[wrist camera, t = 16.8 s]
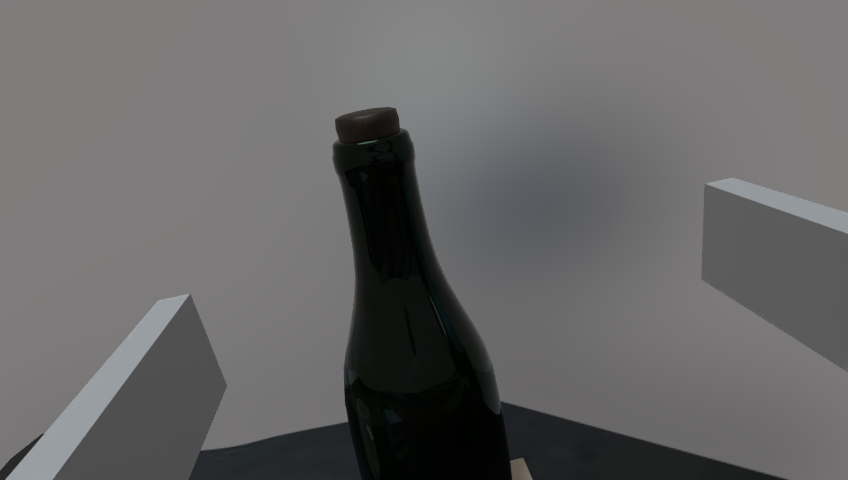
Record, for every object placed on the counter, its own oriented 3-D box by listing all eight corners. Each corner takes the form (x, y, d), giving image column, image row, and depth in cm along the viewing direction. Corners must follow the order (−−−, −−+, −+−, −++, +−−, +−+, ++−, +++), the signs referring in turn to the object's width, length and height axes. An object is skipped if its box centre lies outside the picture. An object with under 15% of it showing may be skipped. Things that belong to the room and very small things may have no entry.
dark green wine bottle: (530, 501, 40) (482, 85, 28) (513, 644, 30) (431, 112, 19) (411, 484, 43) (324, 108, 32) (363, 608, 34) (217, 141, 22)
